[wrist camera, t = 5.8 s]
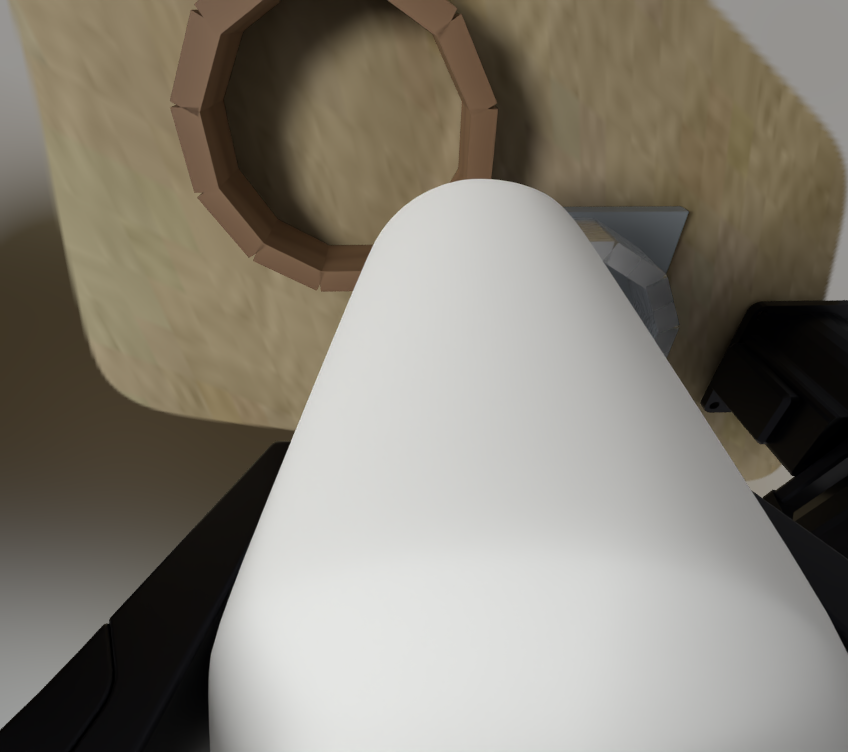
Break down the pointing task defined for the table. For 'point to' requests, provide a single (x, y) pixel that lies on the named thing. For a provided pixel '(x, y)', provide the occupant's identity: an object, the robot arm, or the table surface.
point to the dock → (644, 230)
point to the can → (513, 526)
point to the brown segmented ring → (215, 157)
